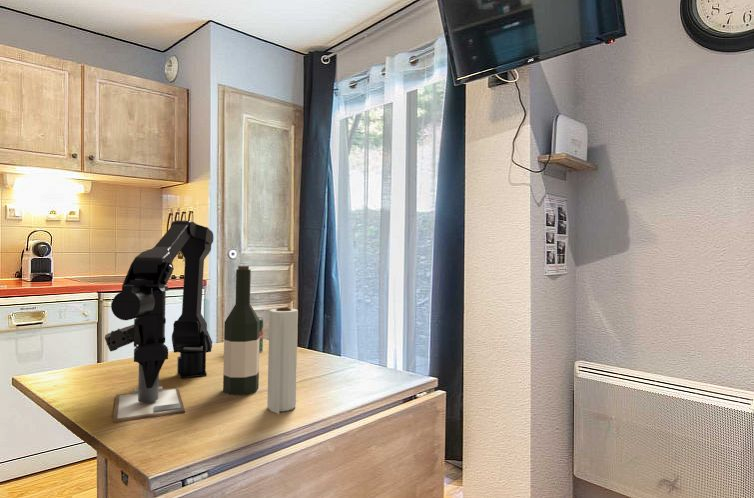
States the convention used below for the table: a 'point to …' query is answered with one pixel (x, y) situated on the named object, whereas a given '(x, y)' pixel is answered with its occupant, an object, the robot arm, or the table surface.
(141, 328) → the robot arm
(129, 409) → the clipboard
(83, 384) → the table surface
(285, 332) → the paper towel roll
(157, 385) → the water bottle
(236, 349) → the wine bottle
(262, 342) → the canned tomato
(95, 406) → the table surface
